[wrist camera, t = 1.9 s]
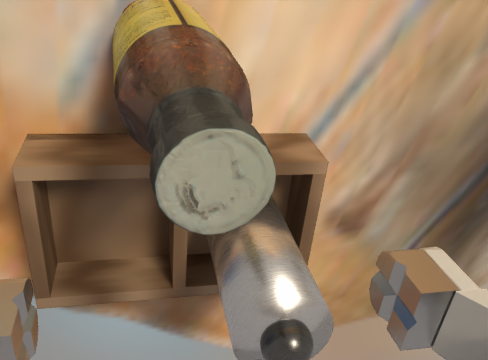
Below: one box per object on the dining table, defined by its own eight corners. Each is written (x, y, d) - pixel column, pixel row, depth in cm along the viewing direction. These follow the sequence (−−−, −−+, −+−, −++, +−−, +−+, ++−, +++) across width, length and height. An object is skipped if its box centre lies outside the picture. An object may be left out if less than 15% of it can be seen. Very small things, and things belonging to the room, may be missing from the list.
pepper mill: (275, 172, 37) (357, 320, 24) (266, 232, 40) (335, 394, 26) (202, 173, 36) (245, 332, 22) (199, 235, 39) (235, 408, 25)
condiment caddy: (306, 133, 37) (328, 161, 33) (286, 250, 43) (302, 286, 39) (27, 133, 32) (11, 167, 28) (47, 265, 38) (37, 308, 34)
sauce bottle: (110, 76, 31) (86, 261, 15) (118, -20, 29) (100, 75, 12) (202, 90, 33) (274, 268, 17) (218, 1, 31) (325, 108, 14)
